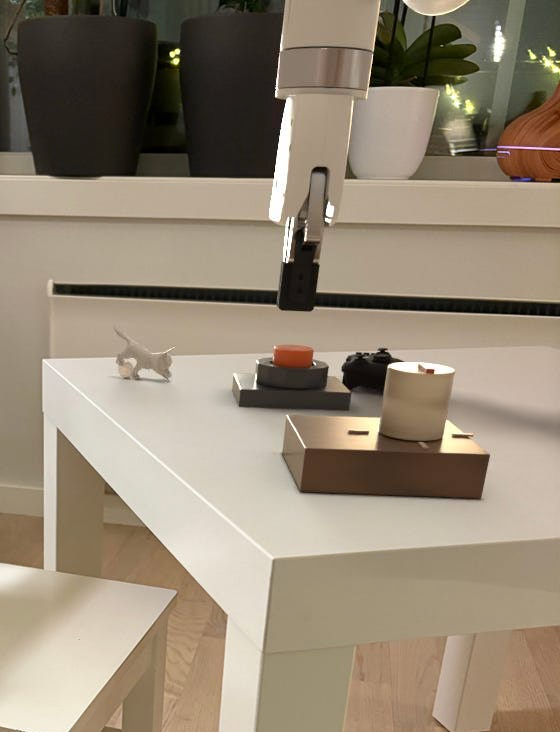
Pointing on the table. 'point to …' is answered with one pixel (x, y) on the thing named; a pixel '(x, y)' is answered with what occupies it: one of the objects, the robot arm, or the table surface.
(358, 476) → the panel
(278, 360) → the button
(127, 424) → the table surface
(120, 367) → the beige animal figurine
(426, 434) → the dial
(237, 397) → the button block
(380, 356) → the game controller
